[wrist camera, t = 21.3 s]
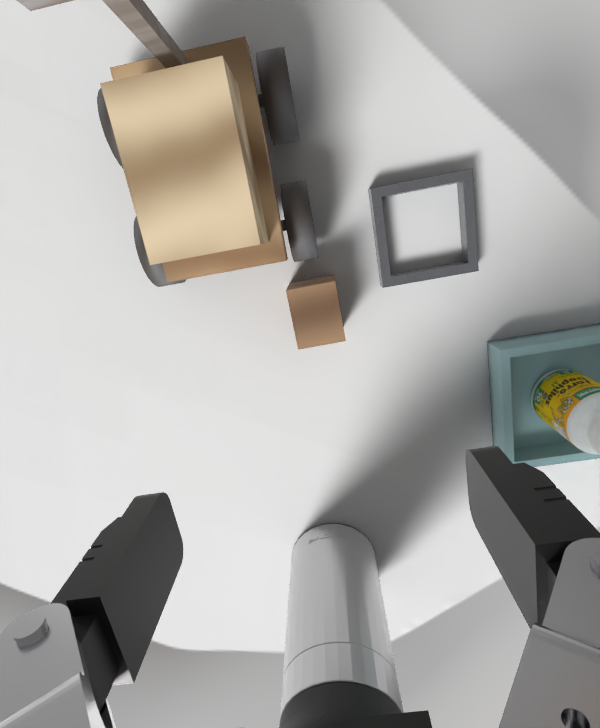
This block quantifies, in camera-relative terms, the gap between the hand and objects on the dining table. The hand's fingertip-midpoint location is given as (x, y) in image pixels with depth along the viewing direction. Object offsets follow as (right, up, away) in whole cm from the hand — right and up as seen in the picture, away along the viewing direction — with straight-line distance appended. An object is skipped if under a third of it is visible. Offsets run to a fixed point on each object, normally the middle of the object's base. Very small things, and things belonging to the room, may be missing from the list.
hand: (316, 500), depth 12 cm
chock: (+1, +9, +29) cm, 30 cm away
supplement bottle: (+24, +1, +30) cm, 38 cm away
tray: (+24, +1, +30) cm, 39 cm away
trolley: (-7, +19, +26) cm, 33 cm away
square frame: (+10, +15, +26) cm, 32 cm away
